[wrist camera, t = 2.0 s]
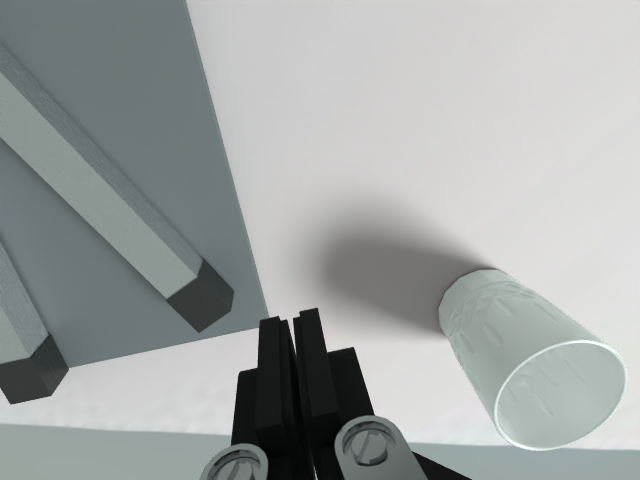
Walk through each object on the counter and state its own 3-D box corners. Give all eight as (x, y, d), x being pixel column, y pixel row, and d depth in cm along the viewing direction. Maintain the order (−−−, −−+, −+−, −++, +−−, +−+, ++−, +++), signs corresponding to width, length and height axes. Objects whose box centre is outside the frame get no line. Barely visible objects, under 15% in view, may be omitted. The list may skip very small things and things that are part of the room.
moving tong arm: (-182, -14, 20) (-258, -28, 17) (-113, -82, 19) (-180, -109, 17) (179, 329, 29) (169, 357, 26) (234, 290, 28) (230, 315, 26)
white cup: (446, 362, 34) (510, 469, 25) (416, 287, 31) (477, 376, 22) (536, 324, 34) (635, 419, 25) (515, 244, 31) (619, 317, 22)
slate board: (-255, -45, 20) (-280, -50, 19) (154, -116, 21) (149, -125, 20) (-3, 375, 30) (-11, 384, 29) (269, 317, 31) (269, 325, 30)
